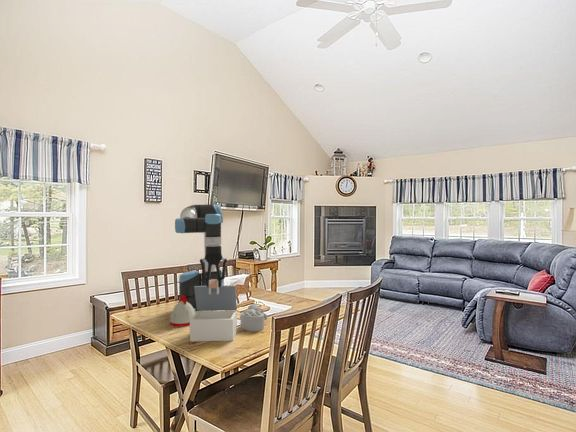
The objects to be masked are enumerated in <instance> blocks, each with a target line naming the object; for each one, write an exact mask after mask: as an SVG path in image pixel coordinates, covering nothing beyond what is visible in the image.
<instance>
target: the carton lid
mask: <svg viewBox="0 0 576 432" xmlns="http://www.w3.org/2000/svg"><path fill="white" fill-rule="evenodd" d="M209 288H212V293H211V294H209ZM194 290H195V298H196V307H197V311H237V310H238V306H237V289H236V285H223V286H221V287H219V294H217V279H211V281H210V284H209V287H207V286H194Z"/></svg>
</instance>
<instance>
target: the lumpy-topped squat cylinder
mask: <svg viewBox="0 0 576 432" xmlns="http://www.w3.org/2000/svg"><path fill="white" fill-rule="evenodd" d="M264 314H265V313H264ZM264 314H263V313H262V312H261V310H260V309H257V310H254V309H249V310H247V309H245V310H243V311H242V312H240V328H241V329H242V330H245V331H248V332H261V331H263V330H264V329H265V318H264Z"/></svg>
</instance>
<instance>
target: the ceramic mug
mask: <svg viewBox="0 0 576 432" xmlns="http://www.w3.org/2000/svg"><path fill="white" fill-rule="evenodd" d="M249 309H254V310H257V309H260V310H261V312H262V313H263V314H264V319H267V318H268V315H267V314H266V313H264V310H263V309H262V308H261V307H260V306H259V305H258V304H254V303H253V304H250V305H249V306H248V307H247V309H246V310H249Z"/></svg>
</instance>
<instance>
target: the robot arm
mask: <svg viewBox="0 0 576 432" xmlns="http://www.w3.org/2000/svg"><path fill="white" fill-rule="evenodd" d="M179 216H180V217H179V218H178V217H177V218H176V219H175V220H174V230H175V231H174V232H175V233H176V234H193V233H195V234H197V233H198V234H200V233H201V234H202V233H203V235H204V236H203V237H204V238H203V239H204V243H203V244H204V257H202V258H200V259H199V263H200V265H201V266H200V267H201V272H200V271H198V270H191V271H185V272H182V273H181V274H180V275H179V276H178V277H179V279H178V284H179V285H178V287H179V289H178V290H179V298H180V297H181V296H182V295H183V296H184V297H185V296H186V299H187V302H188V303H190V304H191V305H192V307H193V308H195V310H196V312H197V307H196V298H195V290H194V286H207V287H209V284H210V281H211V279H217V294H219V287H221V286H224V279H225V278H226V271H227V270H226V269H227V267H226V266H227V262H228V258H225V257H223V255H222V246H221V245H222V224H223V223H224V217H223V211H222V206H221V205H220V204H213V203H212V204H211V203H210V204H191V205H189V206H187V207H184V208H183V209H182V210H181V212H180V215H179ZM221 262H222V268H221V267H220V263H221ZM211 293H212V288H209V294H211ZM179 302H180V299H178V301H177V304H178V303H179Z"/></svg>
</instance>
